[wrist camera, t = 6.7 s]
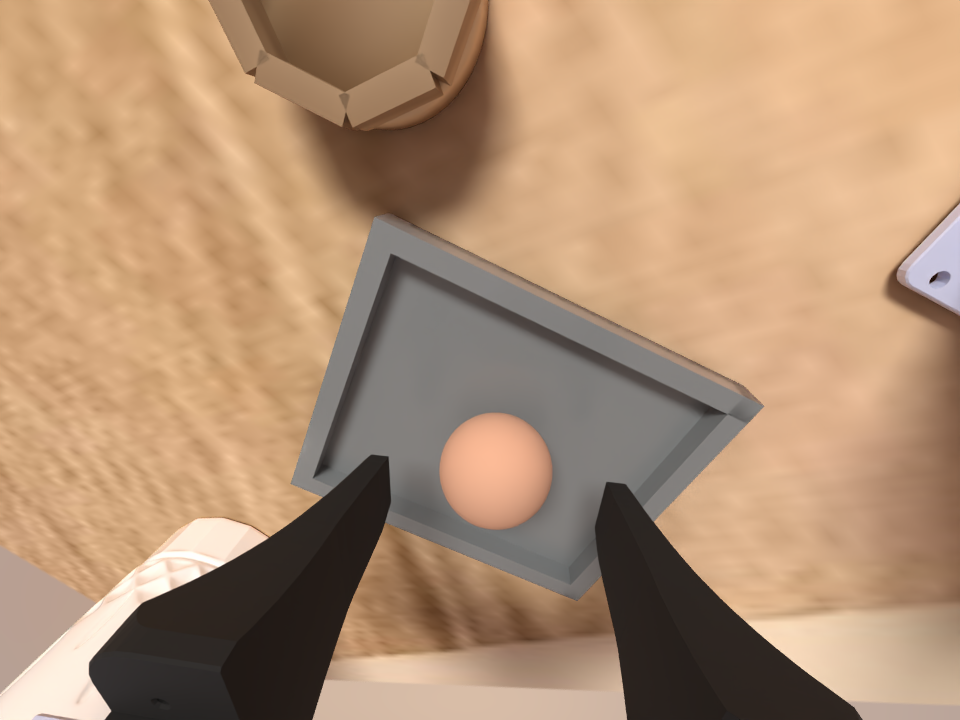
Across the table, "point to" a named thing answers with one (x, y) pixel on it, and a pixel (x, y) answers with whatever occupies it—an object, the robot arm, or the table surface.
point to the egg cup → (358, 54)
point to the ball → (495, 471)
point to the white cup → (119, 621)
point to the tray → (506, 401)
